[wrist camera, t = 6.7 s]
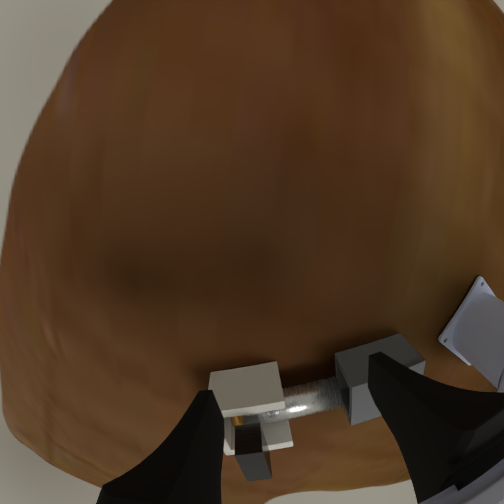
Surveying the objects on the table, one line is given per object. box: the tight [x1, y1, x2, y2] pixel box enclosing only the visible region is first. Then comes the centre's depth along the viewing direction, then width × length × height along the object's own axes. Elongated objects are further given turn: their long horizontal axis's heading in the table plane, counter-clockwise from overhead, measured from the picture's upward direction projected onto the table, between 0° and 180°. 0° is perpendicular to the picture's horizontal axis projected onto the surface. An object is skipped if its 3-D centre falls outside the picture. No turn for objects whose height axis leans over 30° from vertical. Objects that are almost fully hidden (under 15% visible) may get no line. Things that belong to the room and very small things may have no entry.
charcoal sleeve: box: [335, 333, 426, 426], centre depth 20 cm, size 6×5×5 cm
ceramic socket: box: [208, 361, 293, 455], centre depth 20 cm, size 6×6×5 cm
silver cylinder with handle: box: [230, 376, 342, 481], centre depth 18 cm, size 9×4×8 cm, turn 101°
